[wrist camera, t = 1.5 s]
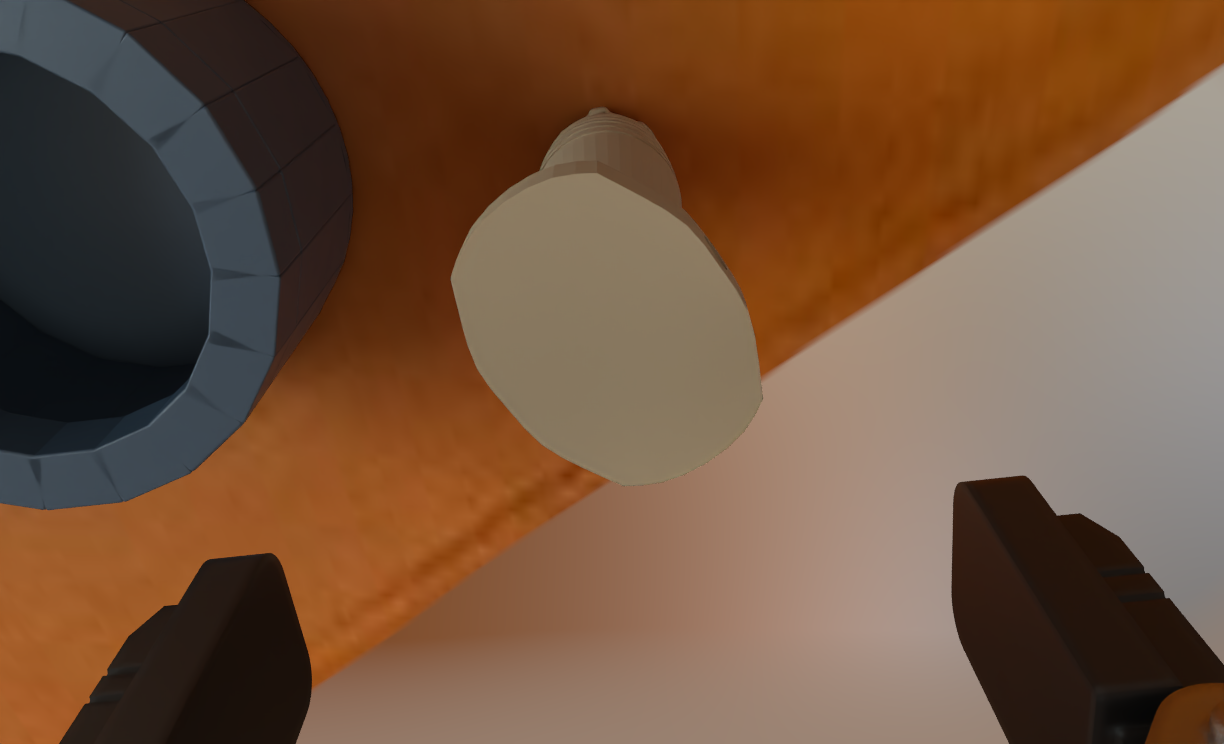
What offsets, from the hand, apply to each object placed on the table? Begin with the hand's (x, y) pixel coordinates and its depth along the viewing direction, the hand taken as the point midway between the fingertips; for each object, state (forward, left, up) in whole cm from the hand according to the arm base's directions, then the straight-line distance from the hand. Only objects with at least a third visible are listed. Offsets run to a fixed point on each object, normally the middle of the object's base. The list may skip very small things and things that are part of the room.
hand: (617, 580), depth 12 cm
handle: (0, 0, -23) cm, 23 cm away
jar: (-1, -15, -23) cm, 27 cm away
